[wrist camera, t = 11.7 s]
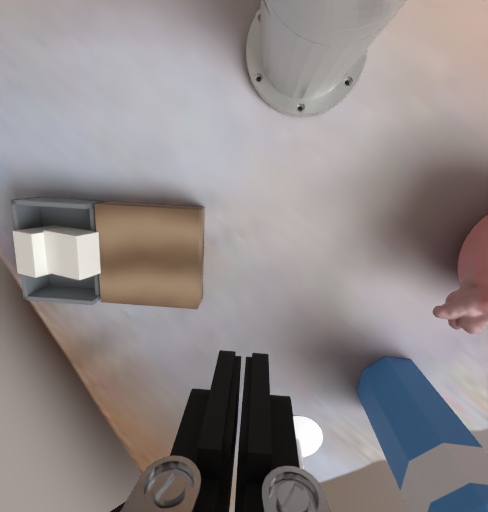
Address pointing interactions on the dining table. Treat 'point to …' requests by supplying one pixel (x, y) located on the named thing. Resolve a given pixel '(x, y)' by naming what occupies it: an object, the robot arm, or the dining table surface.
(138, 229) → the board
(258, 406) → the robot arm
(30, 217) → the tray
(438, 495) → the water bottle
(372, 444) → the dining table surface
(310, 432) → the wineglass
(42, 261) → the tile rear
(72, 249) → the tile front
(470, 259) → the pomegranate
